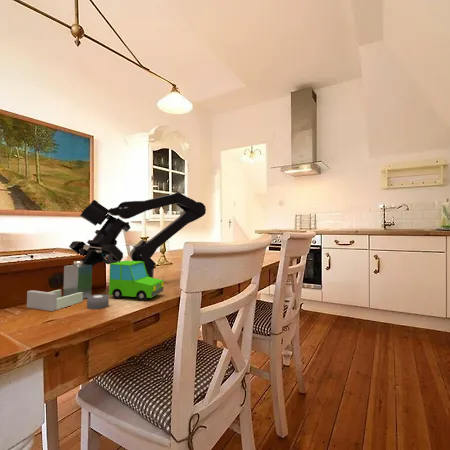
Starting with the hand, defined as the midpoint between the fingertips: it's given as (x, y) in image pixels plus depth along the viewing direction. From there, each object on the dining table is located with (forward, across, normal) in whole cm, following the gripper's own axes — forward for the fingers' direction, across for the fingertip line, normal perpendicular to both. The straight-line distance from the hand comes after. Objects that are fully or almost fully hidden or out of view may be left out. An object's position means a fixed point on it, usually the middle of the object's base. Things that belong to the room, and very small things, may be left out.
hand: (79, 274), depth 81 cm
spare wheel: (+8, -15, 0) cm, 17 cm away
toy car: (0, -16, -10) cm, 19 cm away
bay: (+10, -4, +3) cm, 11 cm away
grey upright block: (+6, -3, -2) cm, 7 cm away
